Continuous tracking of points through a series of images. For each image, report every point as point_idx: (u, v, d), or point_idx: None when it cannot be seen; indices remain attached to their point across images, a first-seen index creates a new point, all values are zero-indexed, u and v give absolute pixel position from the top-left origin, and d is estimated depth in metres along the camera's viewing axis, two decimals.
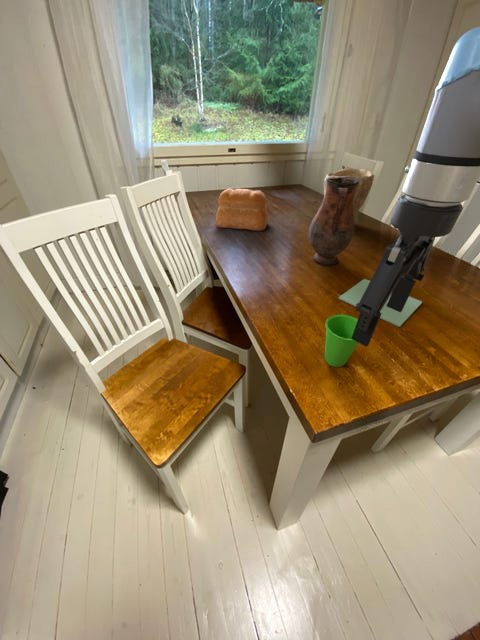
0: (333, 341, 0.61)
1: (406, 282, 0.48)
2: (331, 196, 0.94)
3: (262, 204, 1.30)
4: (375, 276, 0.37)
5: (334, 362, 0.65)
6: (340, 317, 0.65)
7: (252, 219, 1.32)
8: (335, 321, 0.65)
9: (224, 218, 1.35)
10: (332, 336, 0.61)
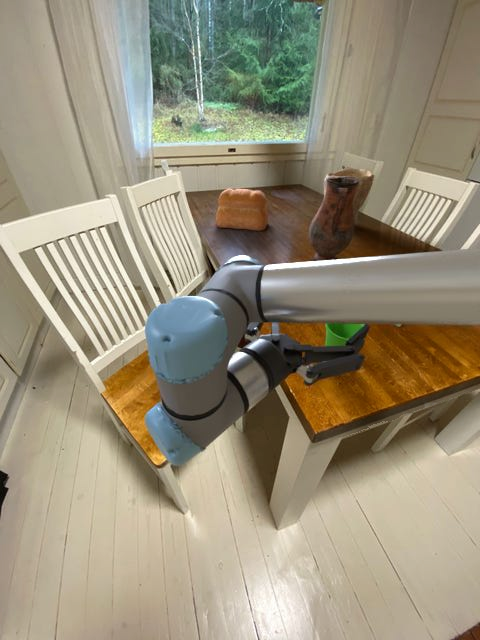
0: (333, 341, 0.61)
1: None
2: (331, 196, 0.94)
3: (262, 204, 1.30)
4: (331, 375, 0.40)
5: None
6: None
7: (252, 219, 1.32)
8: None
9: (224, 218, 1.35)
10: (332, 336, 0.61)
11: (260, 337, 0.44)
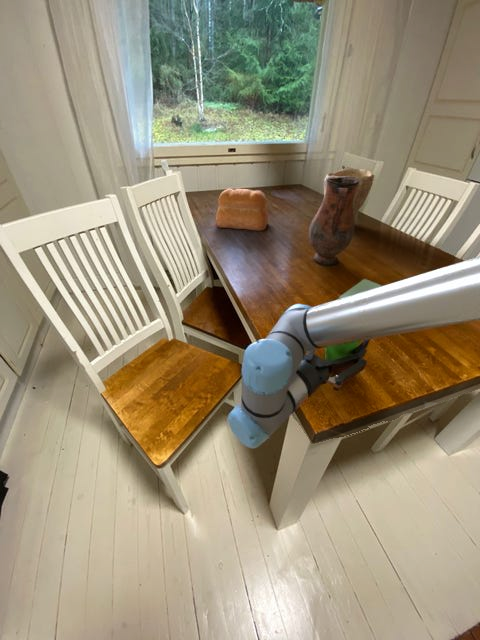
0: None
1: None
2: (331, 196, 0.94)
3: (262, 204, 1.30)
4: (349, 379, 0.57)
5: None
6: None
7: (252, 219, 1.32)
8: None
9: (224, 218, 1.35)
10: None
11: None
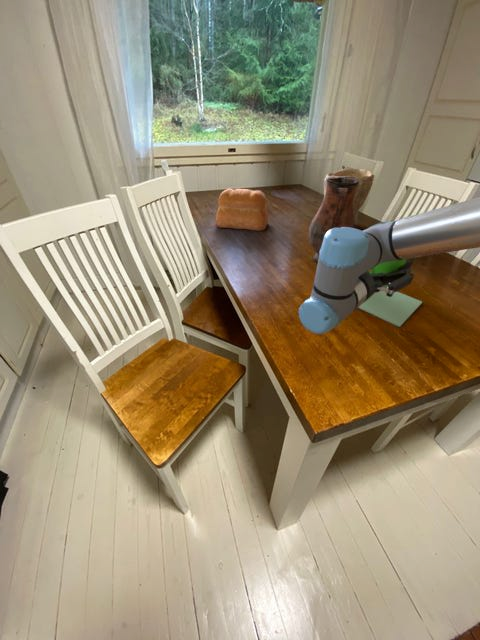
0: None
1: None
2: (331, 196, 0.94)
3: (262, 204, 1.30)
4: (399, 289, 0.63)
5: None
6: None
7: (252, 219, 1.32)
8: None
9: (224, 218, 1.35)
10: None
11: None
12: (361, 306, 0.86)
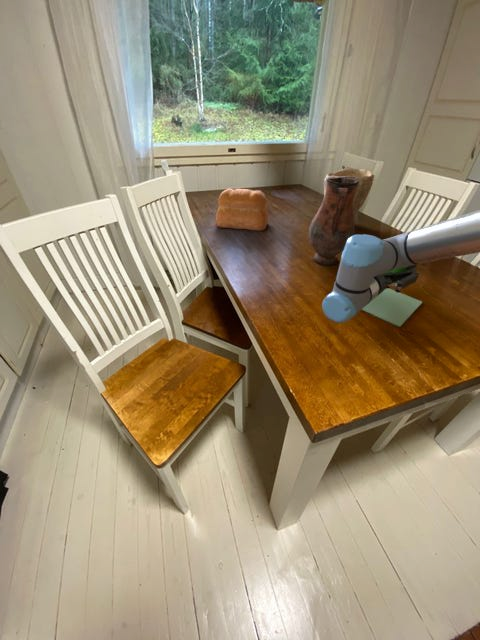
0: None
1: None
2: (331, 196, 0.94)
3: (262, 204, 1.30)
4: (406, 286, 0.74)
5: None
6: None
7: (252, 219, 1.32)
8: None
9: (224, 218, 1.35)
10: None
11: None
12: None
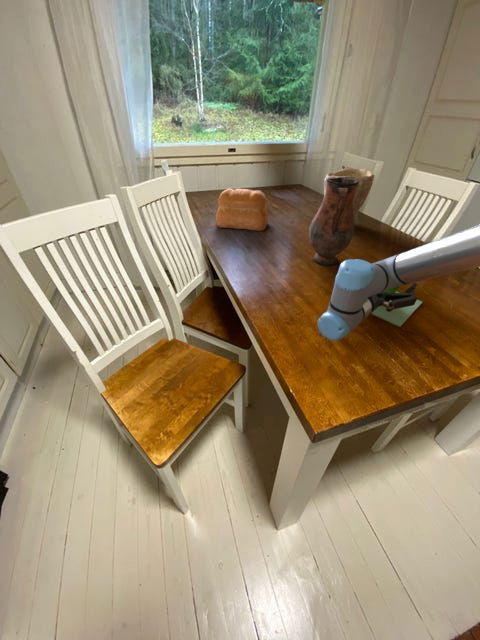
0: None
1: None
2: (331, 196, 0.94)
3: (262, 204, 1.30)
4: (400, 307, 0.76)
5: None
6: None
7: (252, 219, 1.32)
8: None
9: (224, 218, 1.35)
10: None
11: None
12: None
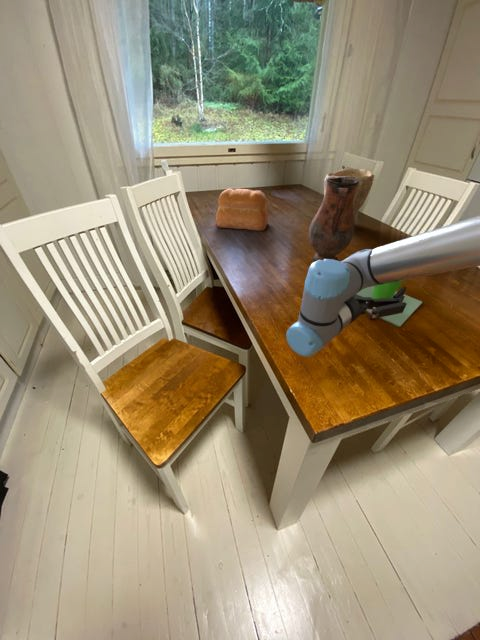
0: None
1: None
2: (331, 196, 0.94)
3: (262, 204, 1.30)
4: (386, 315, 0.65)
5: None
6: None
7: (252, 219, 1.32)
8: None
9: (224, 218, 1.35)
10: None
11: None
12: None
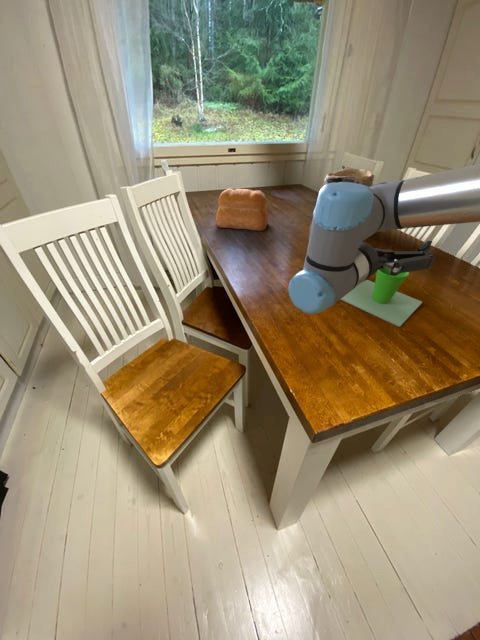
0: (383, 280, 0.82)
1: None
2: None
3: (262, 204, 1.30)
4: (409, 270, 0.53)
5: (382, 299, 0.86)
6: None
7: (252, 219, 1.32)
8: None
9: (224, 218, 1.35)
10: (383, 276, 0.81)
11: None
12: (361, 306, 0.86)
